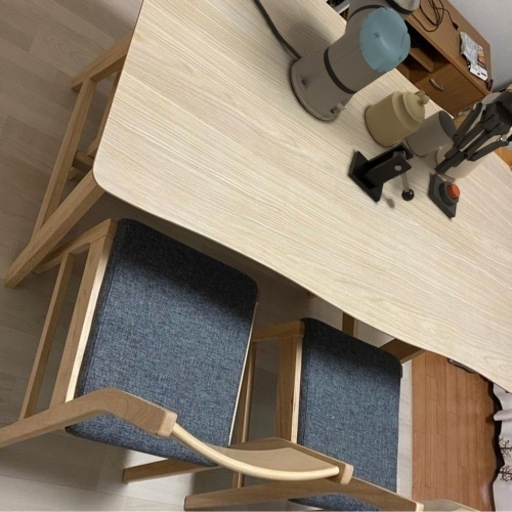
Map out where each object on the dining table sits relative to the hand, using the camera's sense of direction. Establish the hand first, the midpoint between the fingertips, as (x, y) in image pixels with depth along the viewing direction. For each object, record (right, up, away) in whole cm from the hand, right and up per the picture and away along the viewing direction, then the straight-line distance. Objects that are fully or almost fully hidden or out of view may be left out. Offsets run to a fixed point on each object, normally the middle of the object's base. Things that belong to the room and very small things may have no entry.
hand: (438, 171), depth 132 cm
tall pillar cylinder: (+14, +7, +28) cm, 32 cm away
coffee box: (+14, +15, +37) cm, 42 cm away
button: (+10, -3, +20) cm, 22 cm away
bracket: (-17, -1, +2) cm, 17 cm away
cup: (+1, +11, +23) cm, 26 cm away
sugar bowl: (-11, +15, +14) cm, 23 cm away
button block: (+8, -4, +22) cm, 24 cm away
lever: (-10, -2, -1) cm, 10 cm away
